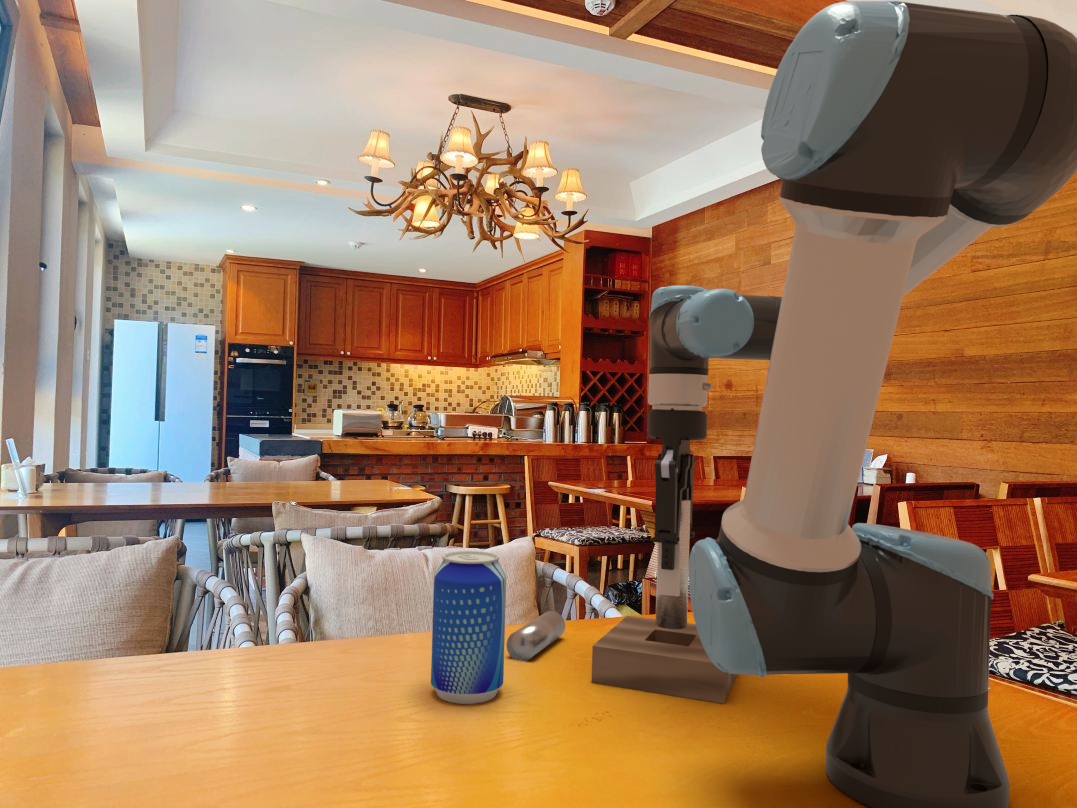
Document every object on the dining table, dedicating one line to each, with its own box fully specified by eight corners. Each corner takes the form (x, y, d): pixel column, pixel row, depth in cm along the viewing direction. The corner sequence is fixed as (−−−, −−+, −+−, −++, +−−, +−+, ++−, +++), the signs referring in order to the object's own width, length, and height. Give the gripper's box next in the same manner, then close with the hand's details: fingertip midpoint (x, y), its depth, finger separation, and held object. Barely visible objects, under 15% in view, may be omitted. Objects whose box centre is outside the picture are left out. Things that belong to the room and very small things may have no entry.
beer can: (507, 683, 97) (511, 551, 97) (497, 709, 89) (501, 564, 89) (439, 678, 98) (443, 548, 98) (422, 704, 90) (426, 560, 90)
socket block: (723, 703, 92) (724, 664, 92) (591, 682, 98) (592, 645, 98) (742, 663, 107) (743, 630, 107) (626, 647, 113) (627, 615, 113)
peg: (683, 630, 100) (687, 502, 100) (652, 626, 102) (655, 500, 102) (689, 623, 104) (693, 499, 104) (659, 619, 105) (662, 497, 105)
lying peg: (505, 630, 107) (507, 660, 107) (533, 632, 105) (534, 662, 105) (539, 610, 118) (540, 637, 118) (564, 611, 117) (565, 639, 116)
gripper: (694, 408, 94) (688, 609, 93) (717, 409, 109) (712, 581, 109) (631, 407, 96) (626, 601, 96) (663, 408, 112) (658, 575, 112)
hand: (672, 590), depth 103 cm, fingers closed on peg, 4 cm apart
